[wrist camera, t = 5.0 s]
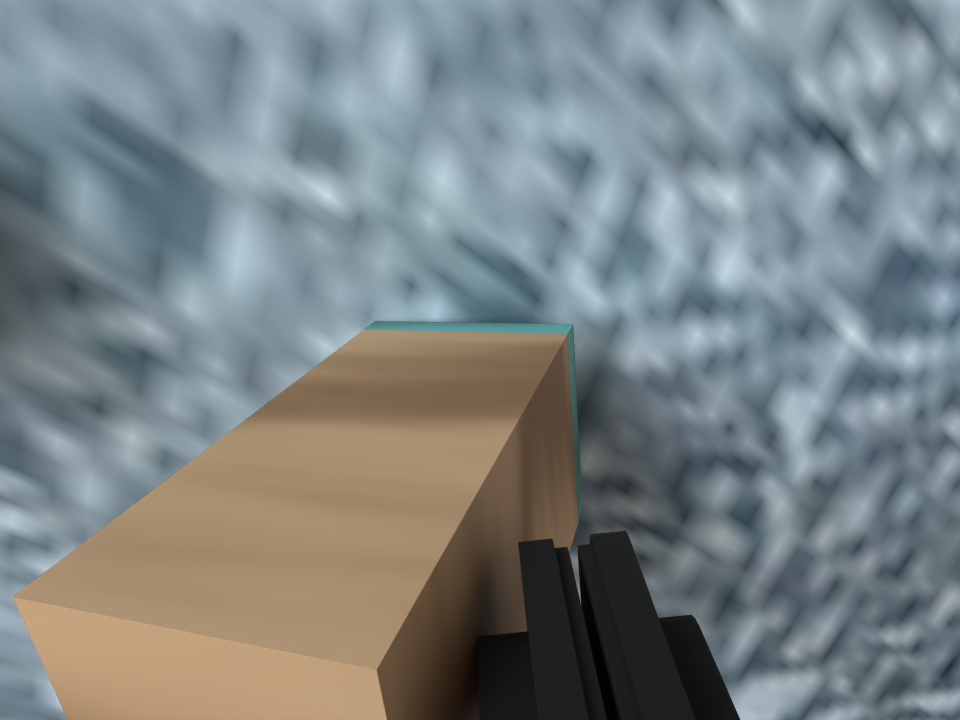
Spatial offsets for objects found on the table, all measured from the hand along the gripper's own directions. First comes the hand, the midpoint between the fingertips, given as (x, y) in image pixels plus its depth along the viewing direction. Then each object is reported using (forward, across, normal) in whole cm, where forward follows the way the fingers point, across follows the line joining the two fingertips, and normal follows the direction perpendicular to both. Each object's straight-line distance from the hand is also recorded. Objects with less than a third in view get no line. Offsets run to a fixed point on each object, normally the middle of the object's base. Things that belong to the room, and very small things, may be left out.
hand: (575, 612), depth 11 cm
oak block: (+7, +1, 0) cm, 7 cm away
